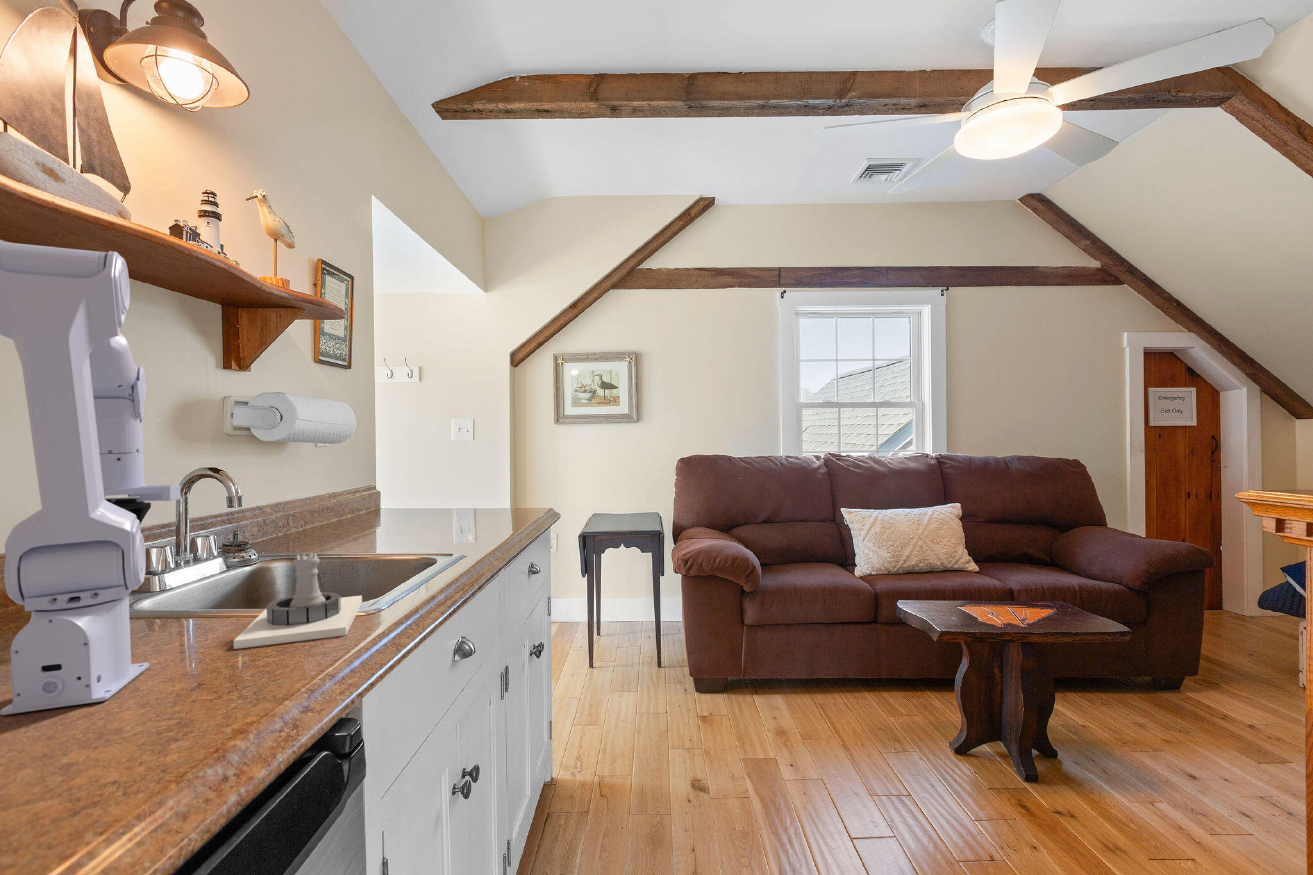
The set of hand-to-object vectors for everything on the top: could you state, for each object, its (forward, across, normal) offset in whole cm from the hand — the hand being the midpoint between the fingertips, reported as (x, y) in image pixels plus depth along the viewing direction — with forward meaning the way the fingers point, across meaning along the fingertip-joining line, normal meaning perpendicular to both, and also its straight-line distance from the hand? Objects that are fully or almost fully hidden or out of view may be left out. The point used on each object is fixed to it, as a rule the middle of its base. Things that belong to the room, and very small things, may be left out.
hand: (119, 558), depth 80 cm
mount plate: (+10, -22, -1) cm, 25 cm away
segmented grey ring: (+10, -22, -1) cm, 25 cm away
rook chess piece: (+9, -23, -2) cm, 24 cm away
